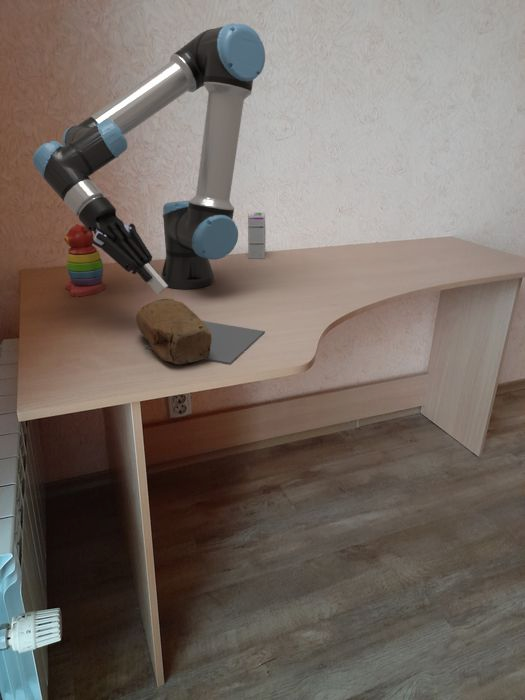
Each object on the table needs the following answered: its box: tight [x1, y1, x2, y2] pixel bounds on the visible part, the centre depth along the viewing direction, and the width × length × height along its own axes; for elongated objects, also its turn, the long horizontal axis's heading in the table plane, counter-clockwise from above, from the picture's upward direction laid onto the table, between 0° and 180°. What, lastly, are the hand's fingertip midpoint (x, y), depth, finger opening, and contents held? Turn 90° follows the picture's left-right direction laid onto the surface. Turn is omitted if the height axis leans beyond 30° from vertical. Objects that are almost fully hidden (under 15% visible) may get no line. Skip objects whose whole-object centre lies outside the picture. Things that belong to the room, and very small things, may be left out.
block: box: [135, 298, 212, 365], centre depth 110 cm, size 11×8×20 cm
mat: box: [144, 320, 266, 365], centre depth 116 cm, size 18×20×1 cm
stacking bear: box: [64, 223, 105, 297], centre depth 144 cm, size 11×10×18 cm
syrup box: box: [247, 212, 266, 260], centre depth 180 cm, size 6×6×14 cm
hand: (162, 290), depth 116 cm, fingers closed
